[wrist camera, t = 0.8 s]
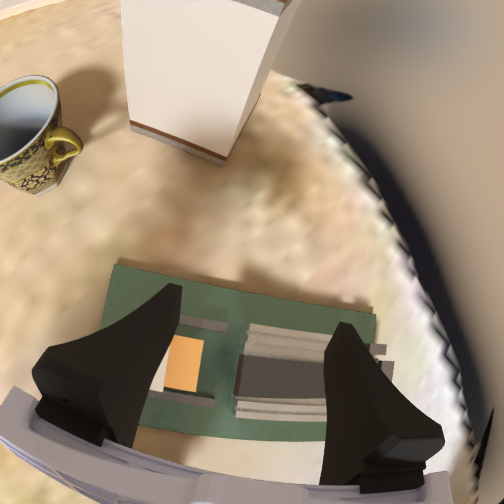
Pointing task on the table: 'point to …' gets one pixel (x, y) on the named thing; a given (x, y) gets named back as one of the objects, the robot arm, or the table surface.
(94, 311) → the table surface
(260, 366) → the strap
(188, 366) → the block
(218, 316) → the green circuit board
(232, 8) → the coffee maker
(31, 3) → the computer
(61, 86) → the table surface
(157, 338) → the robot arm
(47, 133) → the ceramic cup
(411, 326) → the table surface
